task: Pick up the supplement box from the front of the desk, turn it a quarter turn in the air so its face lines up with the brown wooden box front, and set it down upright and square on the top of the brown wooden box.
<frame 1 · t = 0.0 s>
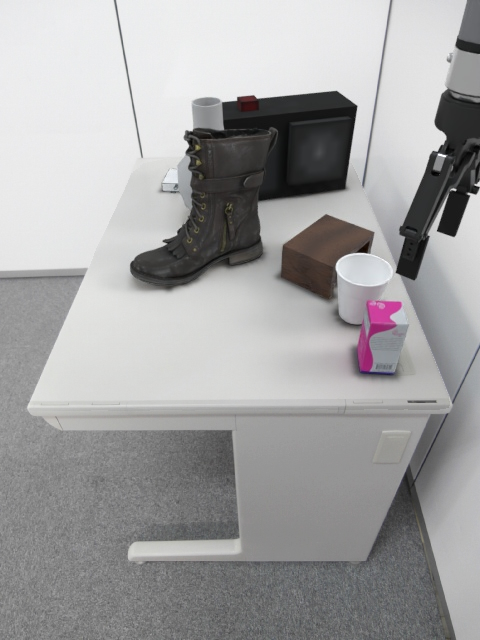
hand: (427, 253, 63), 21 cm above the table, tool pointing down, fingers open, 13 cm apart
speaker: (279, 188, 124), on the table
container: (185, 184, 128), on the table
brown wooden box: (325, 270, 96), on the table
supplement box: (374, 362, 76), on the table
boot: (204, 264, 98), on the table
vase: (214, 219, 113), on the table
cup: (354, 315, 85), on the table
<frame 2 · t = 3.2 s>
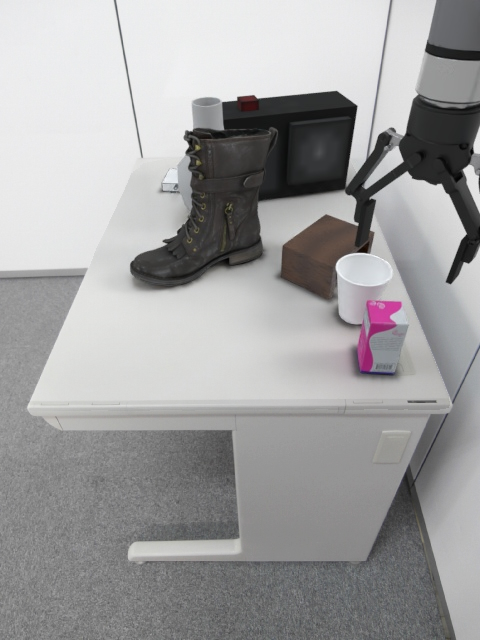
hand: (404, 260, 62), 21 cm above the table, tool pointing down, fingers open, 13 cm apart
nothing on the table moved.
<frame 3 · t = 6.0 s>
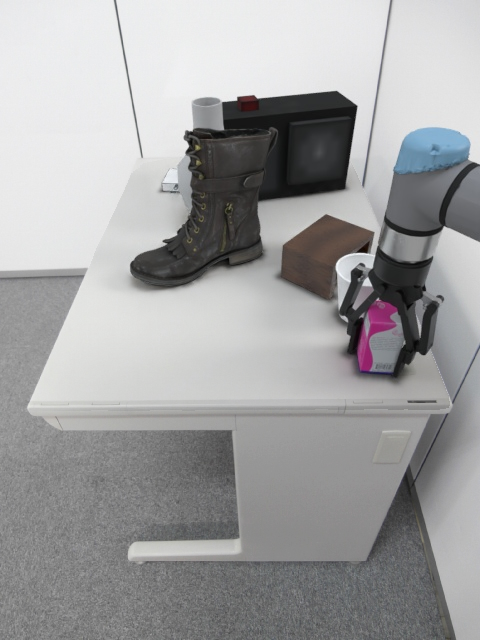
hand: (374, 360, 76), 0 cm above the table, tool pointing down, fingers closed on supplement box, 8 cm apart
supplement box: (374, 361, 76), on the table, touching gripper
everything else where it was.
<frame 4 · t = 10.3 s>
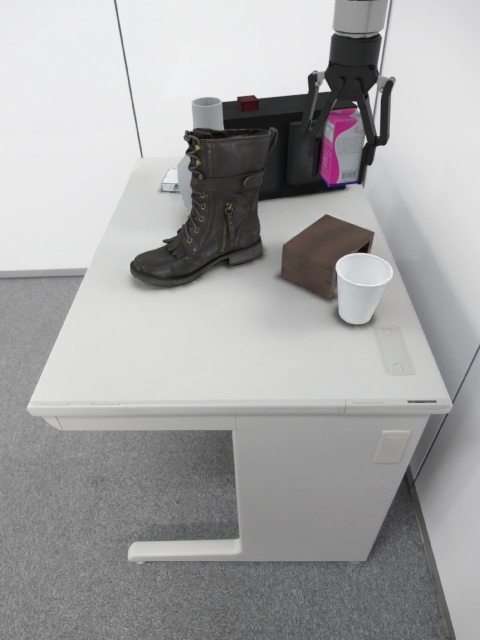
hand: (337, 177, 81), 21 cm above the table, tool pointing down, fingers closed on supplement box, 8 cm apart
supplement box: (337, 179, 81), point 21 cm above the table, touching gripper
everything else where it was.
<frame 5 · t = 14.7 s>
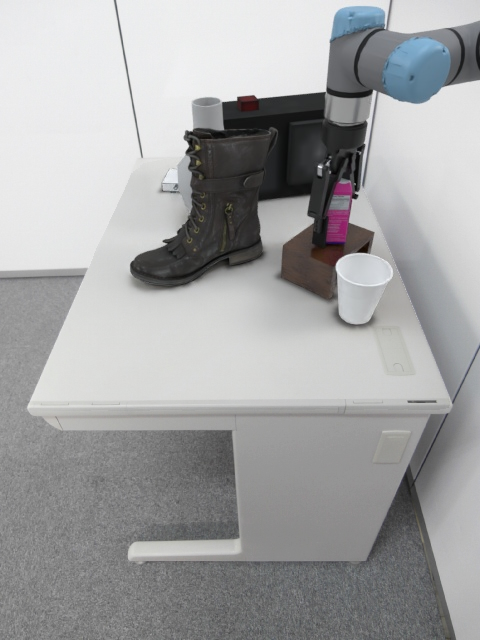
hand: (330, 235, 90), 9 cm above the table, tool pointing down, fingers closed on supplement box, 8 cm apart
supplement box: (329, 237, 90), point 8 cm above the table, touching gripper
everything else where it was.
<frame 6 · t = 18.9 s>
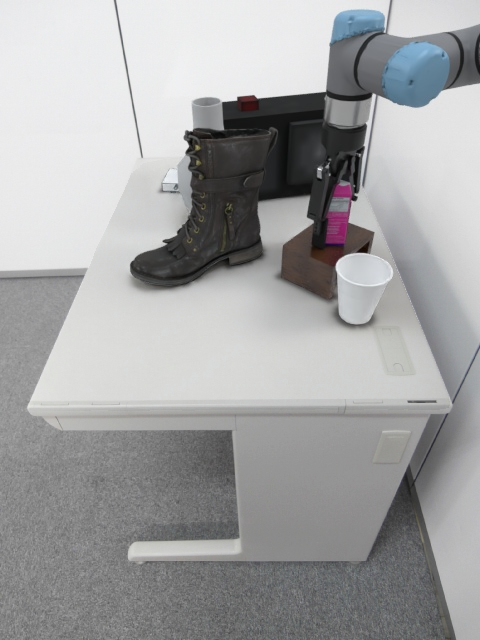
hand: (329, 237, 90), 8 cm above the table, tool pointing down, fingers closed on supplement box, 8 cm apart
supplement box: (329, 239, 90), point 8 cm above the table, touching gripper
everything else where it was.
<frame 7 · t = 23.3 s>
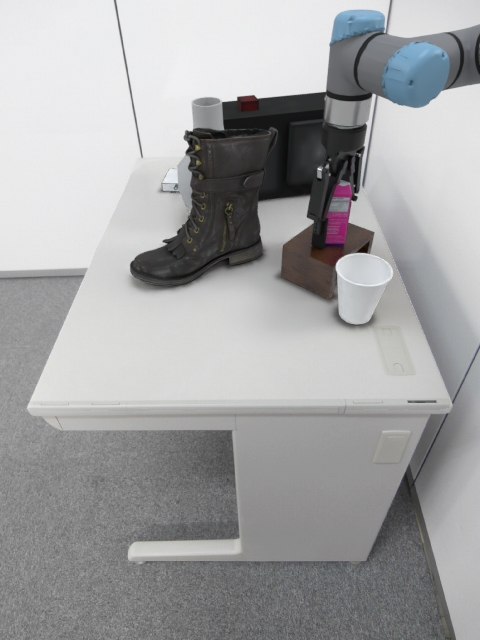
hand: (329, 237, 90), 8 cm above the table, tool pointing down, fingers closed on supplement box, 8 cm apart
supplement box: (329, 239, 90), point 8 cm above the table, touching gripper, brown wooden box
everything else where it was.
when the fingers open (10 cm above the table, at t = 23.9 s): supplement box drops 1 cm, resting on brown wooden box.
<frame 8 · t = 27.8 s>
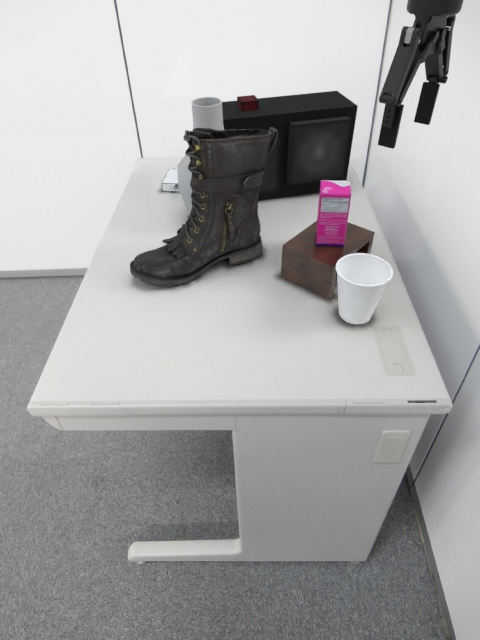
hand: (404, 134, 76), 29 cm above the table, tool pointing down, fingers open, 13 cm apart
supplement box: (329, 239, 90), point 8 cm above the table, touching brown wooden box
everything else where it was.
at the end: supplement box inside the target area on the brown wooden box (0.1 cm from its centre), point 7.8 cm above the brown wooden box's base; supplement box tilted 0°; the gripper is holding nothing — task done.
